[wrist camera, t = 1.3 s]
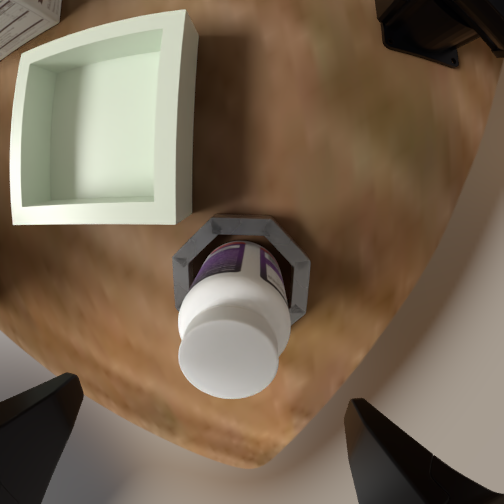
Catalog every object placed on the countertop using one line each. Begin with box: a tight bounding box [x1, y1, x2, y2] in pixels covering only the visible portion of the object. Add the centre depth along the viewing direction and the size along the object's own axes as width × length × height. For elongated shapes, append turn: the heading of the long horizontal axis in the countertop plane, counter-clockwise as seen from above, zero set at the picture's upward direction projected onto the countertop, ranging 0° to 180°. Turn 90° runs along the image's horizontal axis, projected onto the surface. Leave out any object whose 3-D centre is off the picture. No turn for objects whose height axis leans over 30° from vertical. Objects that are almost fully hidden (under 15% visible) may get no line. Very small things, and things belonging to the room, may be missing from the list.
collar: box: [172, 214, 311, 325], centre depth 20 cm, size 9×9×2 cm
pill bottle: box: [178, 241, 291, 399], centre depth 16 cm, size 5×5×10 cm
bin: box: [10, 9, 199, 225], centre depth 16 cm, size 12×12×4 cm
